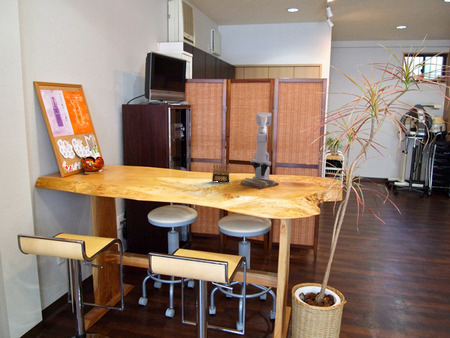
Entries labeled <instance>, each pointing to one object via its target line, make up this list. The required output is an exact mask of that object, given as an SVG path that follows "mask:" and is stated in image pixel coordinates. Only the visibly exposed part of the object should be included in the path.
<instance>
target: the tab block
mask: <svg viewBox="0 0 450 338" xmlns="http://www.w3.org/2000/svg"><path fill="white" fill-rule="evenodd" d="M254 173H255V175H254V176H255V178H264V176H261V167H259V168H256V172H255V171H254Z"/></svg>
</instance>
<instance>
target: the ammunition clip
mask: <svg viewBox="0 0 450 338" xmlns="http://www.w3.org/2000/svg"><path fill="white" fill-rule="evenodd" d="M212 166H213V167H212V168H213V169H212V177H211V180H212V181H218V182H217V183H220V182H229V183H230V164H229V163H225V164H224V163H222V164H221V163H219V164H218V163H215V162H214V163H213V165H212ZM212 181H211V182H212Z"/></svg>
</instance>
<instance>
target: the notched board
mask: <svg viewBox="0 0 450 338" xmlns="http://www.w3.org/2000/svg"><path fill="white" fill-rule="evenodd" d="M239 184H241V185H242V186H246V187H250V188H254V189H258V190H262V189H268V188H271V187H277V186H279V185H280V183H279V182H277V181H275V180H273V179H264V178H255V175H254V176H252V178H250V177H245V179H244V181H240V182H239Z"/></svg>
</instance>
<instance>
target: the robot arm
mask: <svg viewBox="0 0 450 338" xmlns="http://www.w3.org/2000/svg"><path fill="white" fill-rule="evenodd" d="M255 117H256V118H255V121H256V122H255V123H256V125H257V126H258V129H257V134H256V140H255V141H256V151H255V153H254V157H253V158H251V159H250V163H252V167H253V169H254V173H255V172H256V168H259V167H261V176H264V179H269V180H271V177H270V167H269V166H272V161H270V154H269V152H267V143H268V127H270V126H271V123H272V112H262V111H261V112H259V111H258V112H256V116H255Z"/></svg>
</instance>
